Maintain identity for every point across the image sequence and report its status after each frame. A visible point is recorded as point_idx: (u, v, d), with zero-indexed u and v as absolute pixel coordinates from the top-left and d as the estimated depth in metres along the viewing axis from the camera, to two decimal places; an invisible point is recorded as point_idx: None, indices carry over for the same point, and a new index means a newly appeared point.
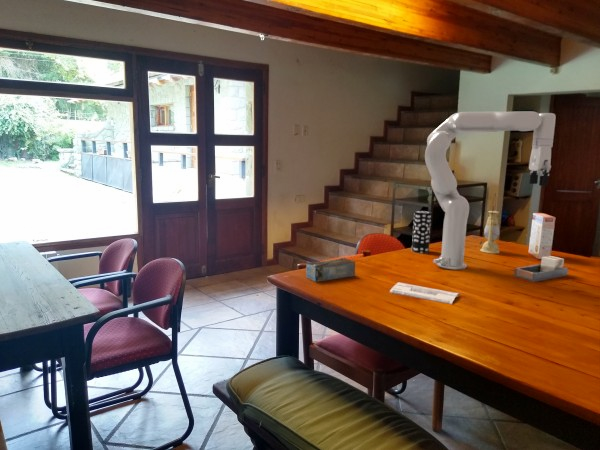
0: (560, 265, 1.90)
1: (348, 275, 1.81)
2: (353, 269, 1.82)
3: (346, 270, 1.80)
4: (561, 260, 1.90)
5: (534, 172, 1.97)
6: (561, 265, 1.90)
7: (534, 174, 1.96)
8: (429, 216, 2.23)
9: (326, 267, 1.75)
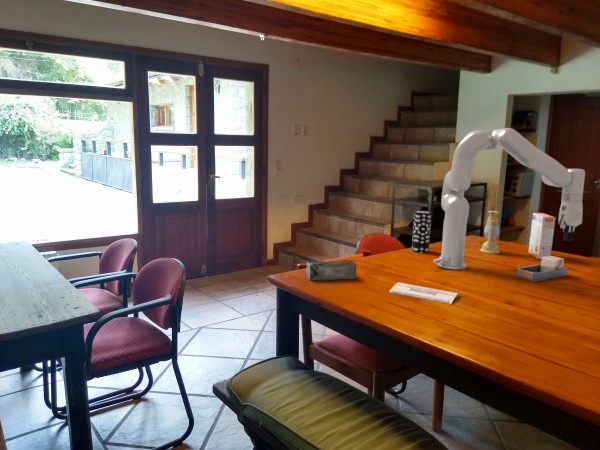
0: (560, 265, 1.90)
1: (348, 277, 1.78)
2: (354, 271, 1.78)
3: (345, 272, 1.78)
4: (561, 260, 1.90)
5: None
6: (561, 265, 1.90)
7: None
8: (429, 216, 2.23)
9: (322, 267, 1.76)
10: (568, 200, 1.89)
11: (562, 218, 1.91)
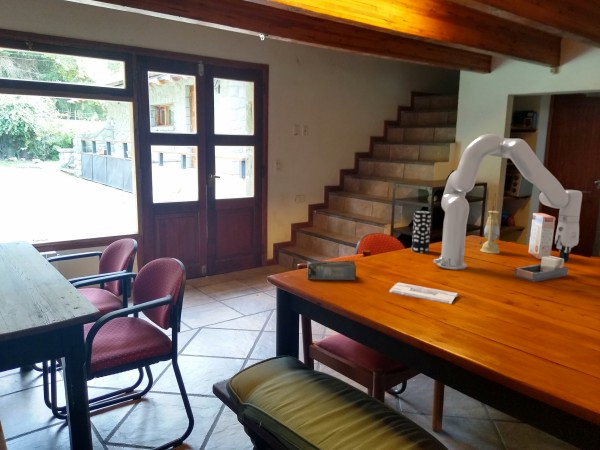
0: (560, 265, 1.90)
1: (346, 278, 1.77)
2: (353, 273, 1.77)
3: (344, 272, 1.77)
4: (561, 260, 1.90)
5: None
6: (561, 265, 1.90)
7: None
8: (429, 216, 2.23)
9: (320, 266, 1.76)
10: (565, 221, 1.90)
11: (559, 239, 1.92)
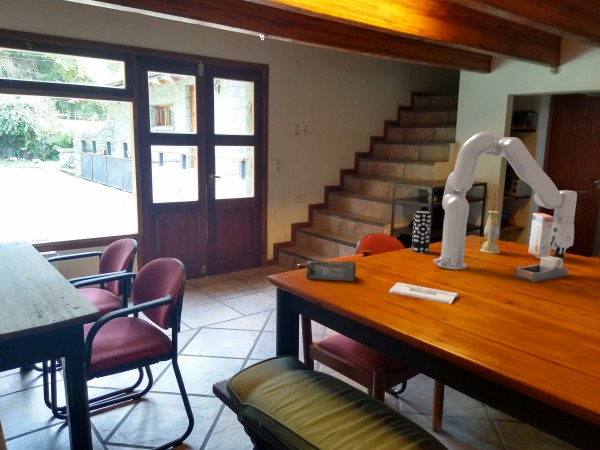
0: (559, 266, 1.90)
1: (345, 279, 1.76)
2: (351, 274, 1.75)
3: (343, 273, 1.76)
4: (560, 260, 1.90)
5: None
6: (560, 265, 1.90)
7: None
8: (429, 216, 2.23)
9: (319, 266, 1.77)
10: (560, 222, 1.89)
11: (553, 240, 1.91)
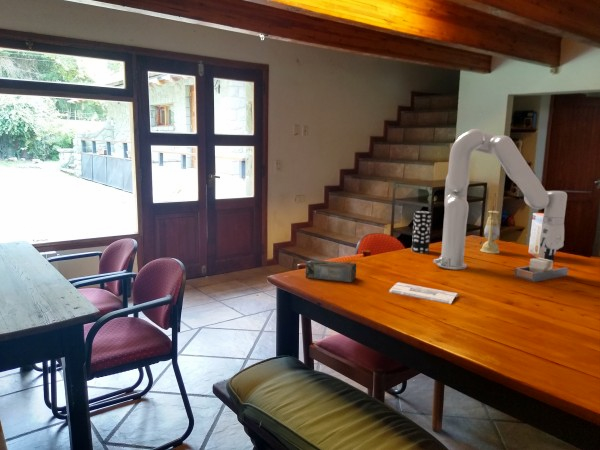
0: (549, 267, 1.87)
1: (343, 279, 1.75)
2: (349, 275, 1.74)
3: (340, 274, 1.75)
4: (550, 262, 1.86)
5: None
6: (550, 267, 1.87)
7: None
8: (429, 216, 2.23)
9: (317, 265, 1.77)
10: (549, 223, 1.85)
11: (543, 241, 1.87)
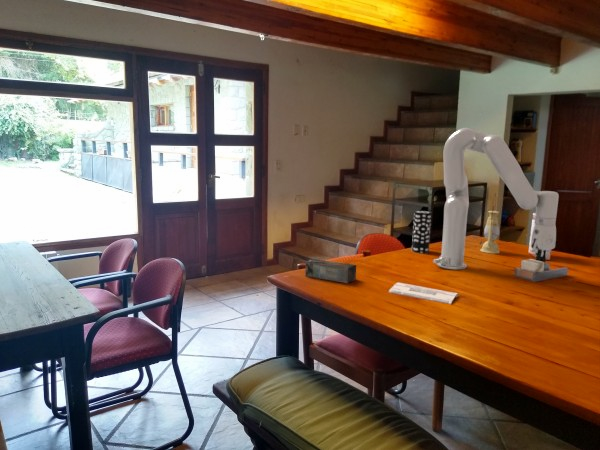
0: (540, 269, 1.84)
1: (339, 280, 1.74)
2: (345, 276, 1.72)
3: (337, 274, 1.74)
4: (541, 263, 1.83)
5: None
6: (541, 269, 1.84)
7: None
8: (429, 216, 2.23)
9: (316, 265, 1.78)
10: (541, 224, 1.83)
11: (534, 242, 1.85)
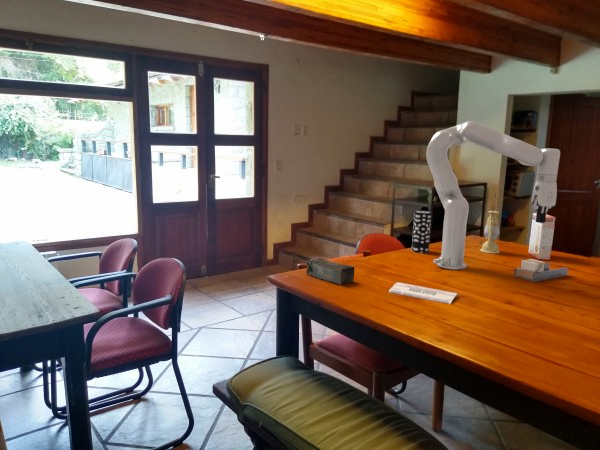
0: (540, 269, 1.84)
1: (334, 281, 1.73)
2: (339, 277, 1.71)
3: (332, 275, 1.73)
4: (541, 263, 1.83)
5: None
6: (541, 269, 1.84)
7: None
8: (429, 216, 2.23)
9: (315, 264, 1.80)
10: (542, 180, 1.85)
11: (535, 198, 1.88)
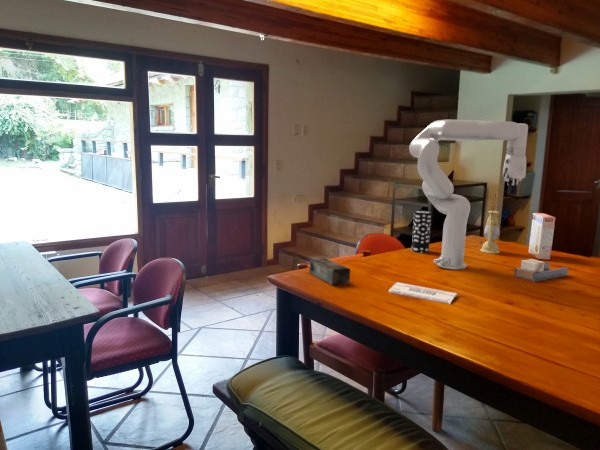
0: (540, 269, 1.84)
1: (327, 281, 1.73)
2: (331, 277, 1.70)
3: (326, 275, 1.73)
4: (541, 263, 1.83)
5: None
6: (541, 269, 1.84)
7: None
8: (429, 216, 2.23)
9: (315, 263, 1.81)
10: (511, 153, 1.96)
11: (506, 171, 1.98)
